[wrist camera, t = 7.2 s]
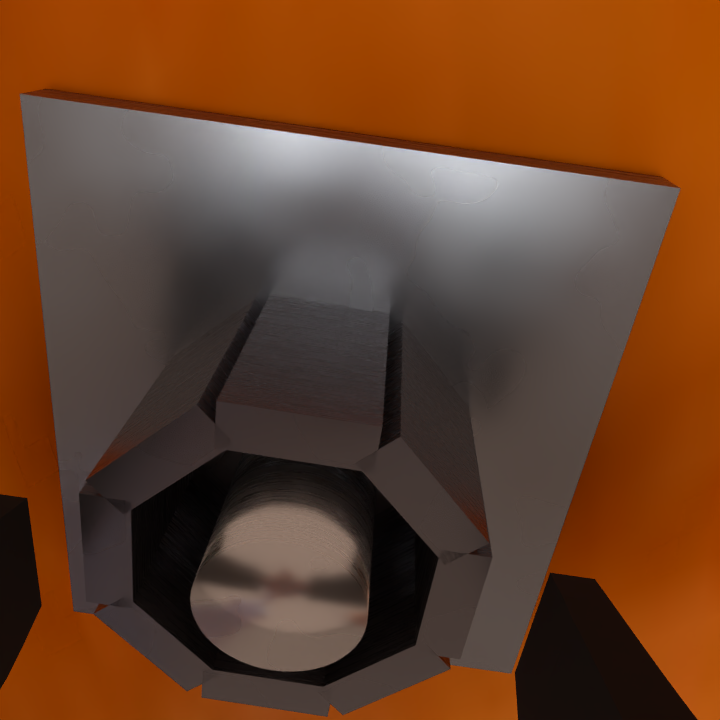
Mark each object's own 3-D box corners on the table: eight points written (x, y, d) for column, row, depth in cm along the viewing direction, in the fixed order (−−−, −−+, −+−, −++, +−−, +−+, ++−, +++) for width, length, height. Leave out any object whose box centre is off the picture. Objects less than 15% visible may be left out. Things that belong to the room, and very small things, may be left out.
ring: (430, 572, 14) (436, 733, 11) (163, 530, 14) (91, 680, 11) (493, 329, 11) (526, 449, 8) (165, 278, 11) (71, 378, 8)
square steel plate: (506, 643, 16) (542, 876, 11) (88, 584, 16) (-31, 794, 11) (662, 177, 11) (833, 280, 6) (46, 88, 11) (-198, 134, 6)
